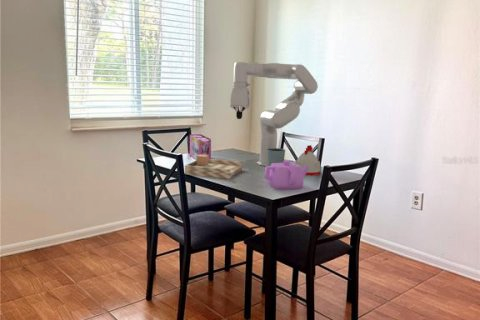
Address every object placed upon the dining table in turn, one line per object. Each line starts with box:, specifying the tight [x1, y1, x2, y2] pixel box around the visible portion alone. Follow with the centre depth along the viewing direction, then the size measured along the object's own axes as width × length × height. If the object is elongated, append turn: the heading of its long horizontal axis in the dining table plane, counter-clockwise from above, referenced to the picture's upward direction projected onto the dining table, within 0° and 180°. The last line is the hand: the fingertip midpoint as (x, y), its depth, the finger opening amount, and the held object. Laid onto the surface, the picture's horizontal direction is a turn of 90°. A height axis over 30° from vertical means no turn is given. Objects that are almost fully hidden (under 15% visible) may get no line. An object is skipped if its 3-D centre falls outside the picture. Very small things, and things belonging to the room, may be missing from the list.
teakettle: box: [263, 159, 309, 191], centre depth 199 cm, size 17×17×12 cm
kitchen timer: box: [294, 145, 321, 177], centre depth 230 cm, size 14×14×15 cm
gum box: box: [189, 133, 212, 161], centre depth 259 cm, size 24×8×14 cm, turn 20°
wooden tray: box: [184, 158, 243, 179], centre depth 224 cm, size 24×22×4 cm
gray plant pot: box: [267, 147, 286, 166], centre depth 231 cm, size 10×10×12 cm
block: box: [196, 154, 209, 166], centre depth 230 cm, size 5×5×5 cm
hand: (239, 118), depth 235 cm, fingers closed
